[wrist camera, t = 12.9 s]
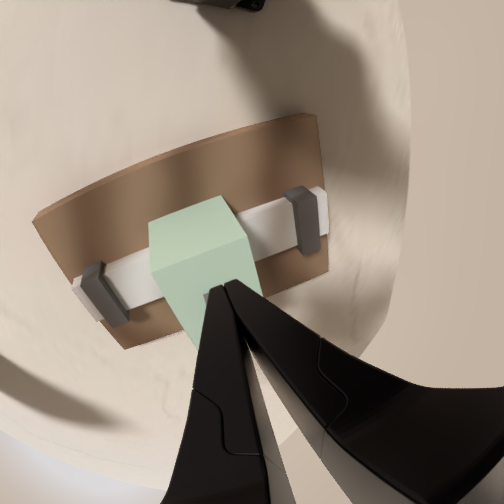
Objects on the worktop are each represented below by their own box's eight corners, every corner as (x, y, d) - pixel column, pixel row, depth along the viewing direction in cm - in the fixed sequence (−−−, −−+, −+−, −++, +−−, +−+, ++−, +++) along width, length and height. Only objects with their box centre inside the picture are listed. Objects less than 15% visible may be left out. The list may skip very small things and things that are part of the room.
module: (220, 195, 18) (252, 244, 13) (244, 274, 22) (274, 332, 17) (148, 222, 17) (151, 283, 12) (184, 297, 21) (200, 360, 16)
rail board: (305, 112, 18) (332, 120, 15) (320, 261, 26) (339, 284, 24) (38, 212, 15) (21, 236, 12) (124, 337, 24) (125, 367, 21)
